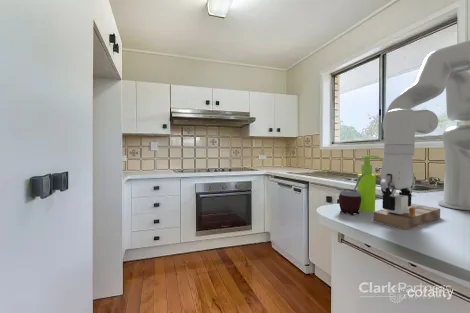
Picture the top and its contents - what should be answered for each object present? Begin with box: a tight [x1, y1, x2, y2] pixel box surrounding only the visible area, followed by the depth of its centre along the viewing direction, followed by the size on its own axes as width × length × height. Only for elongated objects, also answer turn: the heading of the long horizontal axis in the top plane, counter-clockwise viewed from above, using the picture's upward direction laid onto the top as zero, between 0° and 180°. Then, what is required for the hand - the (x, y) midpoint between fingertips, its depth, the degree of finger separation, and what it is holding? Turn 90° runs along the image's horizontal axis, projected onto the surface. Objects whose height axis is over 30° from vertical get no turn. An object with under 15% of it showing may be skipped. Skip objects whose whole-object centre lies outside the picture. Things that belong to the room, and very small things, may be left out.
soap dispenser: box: [356, 155, 380, 213], centre depth 86 cm, size 6×7×20 cm
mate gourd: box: [338, 172, 368, 216], centre depth 82 cm, size 8×8×15 cm
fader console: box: [372, 203, 441, 231], centre depth 76 cm, size 23×9×6 cm, turn 121°
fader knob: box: [386, 193, 408, 214], centre depth 72 cm, size 4×4×5 cm
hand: (397, 207), depth 72 cm, fingers open, 9 cm apart
